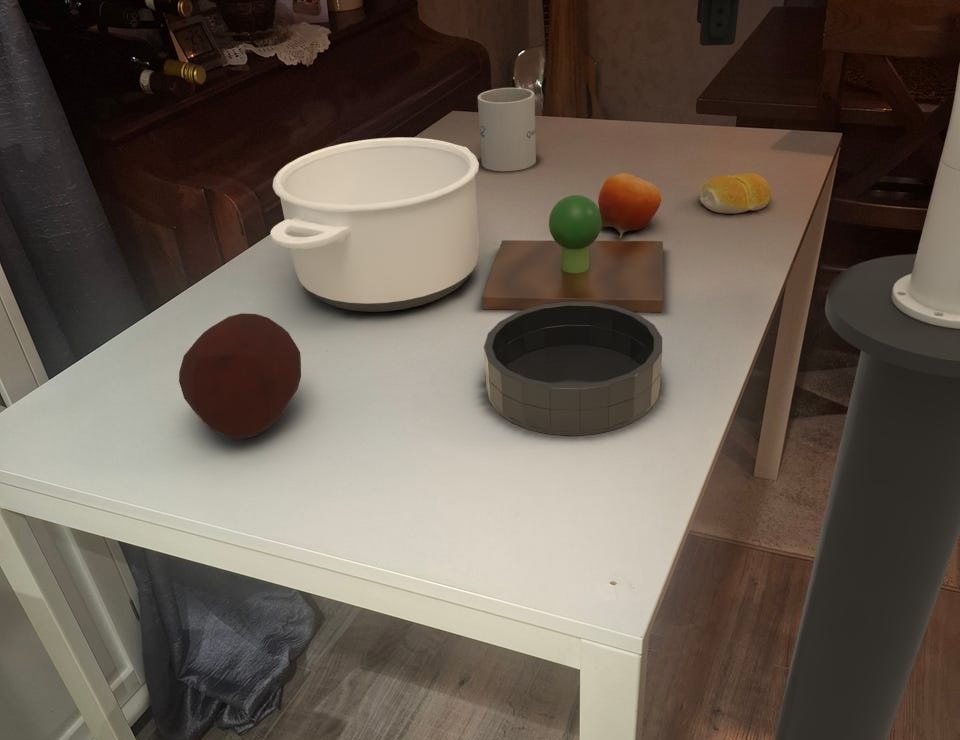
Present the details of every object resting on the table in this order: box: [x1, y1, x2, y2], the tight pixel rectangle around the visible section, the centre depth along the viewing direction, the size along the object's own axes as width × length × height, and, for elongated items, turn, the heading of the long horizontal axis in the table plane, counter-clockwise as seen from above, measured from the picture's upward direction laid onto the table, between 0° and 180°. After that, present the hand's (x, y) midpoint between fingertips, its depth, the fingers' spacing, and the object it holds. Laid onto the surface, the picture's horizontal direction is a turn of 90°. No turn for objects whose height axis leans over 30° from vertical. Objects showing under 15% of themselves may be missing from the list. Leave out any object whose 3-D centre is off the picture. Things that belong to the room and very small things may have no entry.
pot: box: [269, 137, 480, 313], centre depth 105 cm, size 33×23×14 cm
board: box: [481, 239, 664, 313], centre depth 105 cm, size 20×16×2 cm
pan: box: [483, 302, 663, 437], centre depth 85 cm, size 17×17×5 cm
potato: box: [178, 312, 302, 440], centre depth 83 cm, size 11×13×10 cm
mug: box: [477, 87, 537, 172], centre depth 139 cm, size 12×9×10 cm
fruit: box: [597, 172, 662, 239], centre depth 115 cm, size 8×8×8 cm
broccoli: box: [548, 194, 602, 273], centre depth 102 cm, size 6×6×8 cm
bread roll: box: [699, 172, 772, 214], centre depth 120 cm, size 8×9×4 cm
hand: (714, 32), depth 87 cm, fingers open, 9 cm apart
